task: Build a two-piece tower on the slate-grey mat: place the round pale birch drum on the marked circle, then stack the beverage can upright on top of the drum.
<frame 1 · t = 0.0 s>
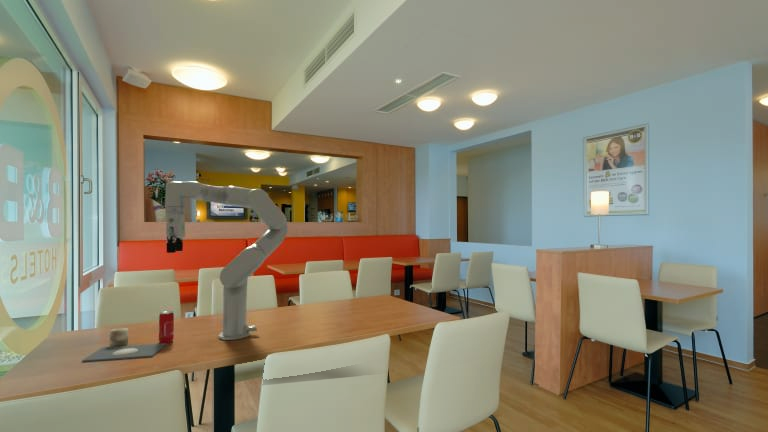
hand: (174, 251, 154), 37 cm above the table, tool pointing down, fingers open, 9 cm apart
mat: (126, 352, 138), on the table
birch drum: (118, 345, 147), on the table
beverage can: (166, 342, 151), on the table
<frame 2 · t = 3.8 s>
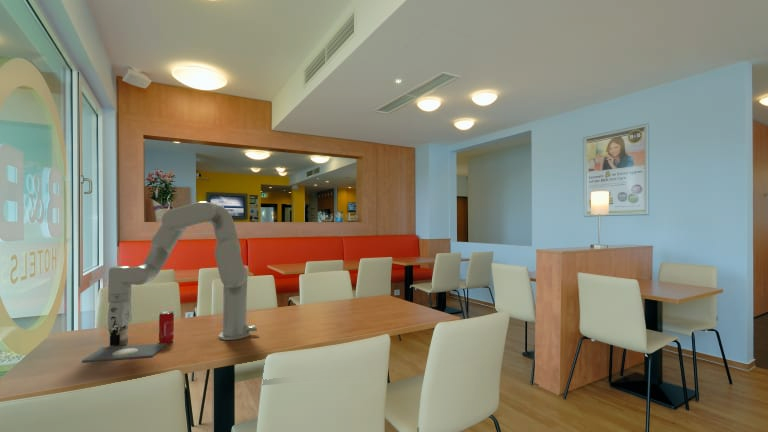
hand: (118, 342, 147), 1 cm above the table, tool pointing down, fingers closed on birch drum, 6 cm apart
birch drum: (118, 344, 147), on the table, touching gripper
everything else where it was.
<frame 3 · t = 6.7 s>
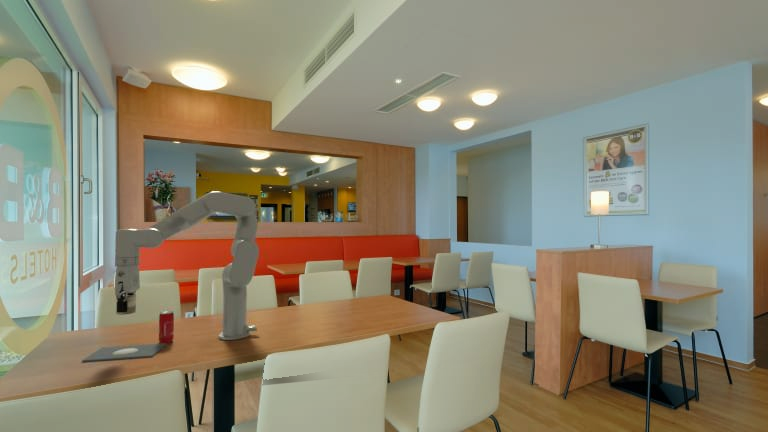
hand: (126, 309, 137), 16 cm above the table, tool pointing down, fingers closed on birch drum, 6 cm apart
birch drum: (125, 312, 137), point 15 cm above the table, touching gripper
everything else where it was.
when the fingers open (2 cm above the table, at t = 9.5 s): birch drum stays where it is, resting on mat.
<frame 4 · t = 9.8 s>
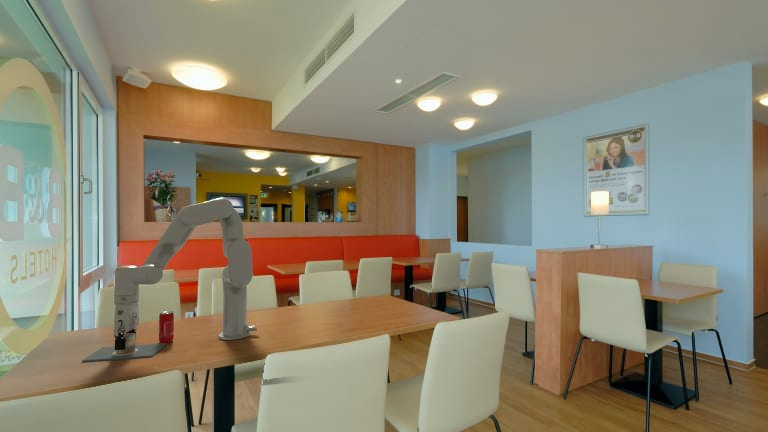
hand: (125, 345, 137), 3 cm above the table, tool pointing down, fingers open, 8 cm apart
birch drum: (125, 351, 137), point 1 cm above the table, touching mat
everything else where it was.
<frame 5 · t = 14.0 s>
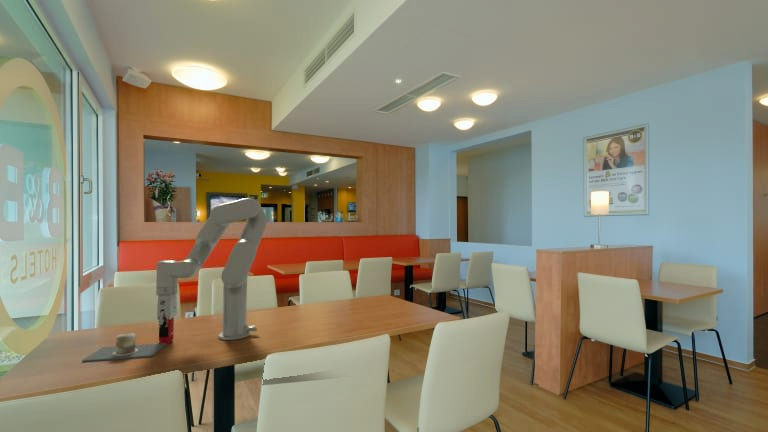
hand: (166, 334, 151), 3 cm above the table, tool pointing down, fingers closed on beverage can, 5 cm apart
beverage can: (166, 342, 151), on the table, touching gripper
everything else where it was.
when the fingers open (10 cm above the table, at t = 19.7 s): beverage can stays where it is, resting on birch drum.
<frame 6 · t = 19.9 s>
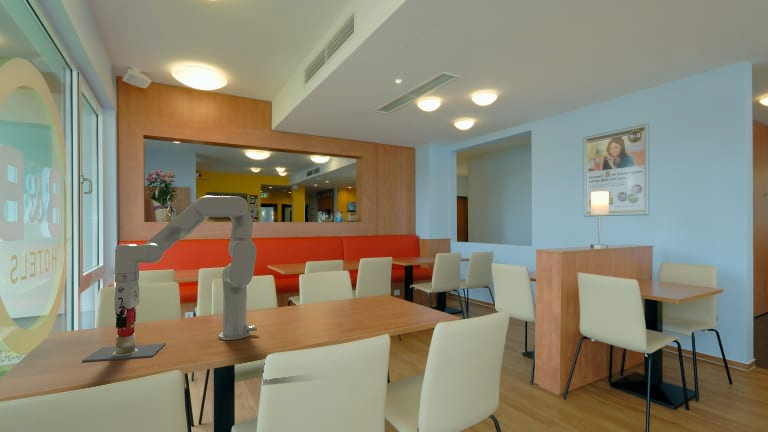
hand: (126, 324, 137), 11 cm above the table, tool pointing down, fingers open, 7 cm apart
birch drum: (125, 351, 137), point 1 cm above the table, touching beverage can, mat
beverage can: (125, 336, 137), point 7 cm above the table, touching birch drum
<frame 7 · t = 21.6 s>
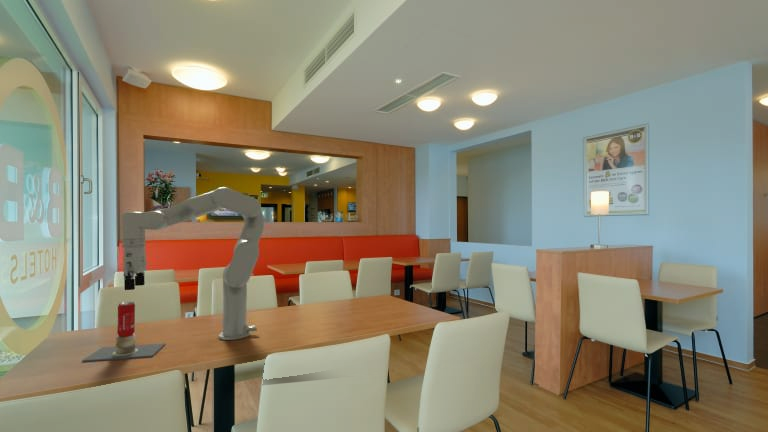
hand: (134, 287, 143), 24 cm above the table, tool pointing down, fingers open, 9 cm apart
nothing on the table moved.
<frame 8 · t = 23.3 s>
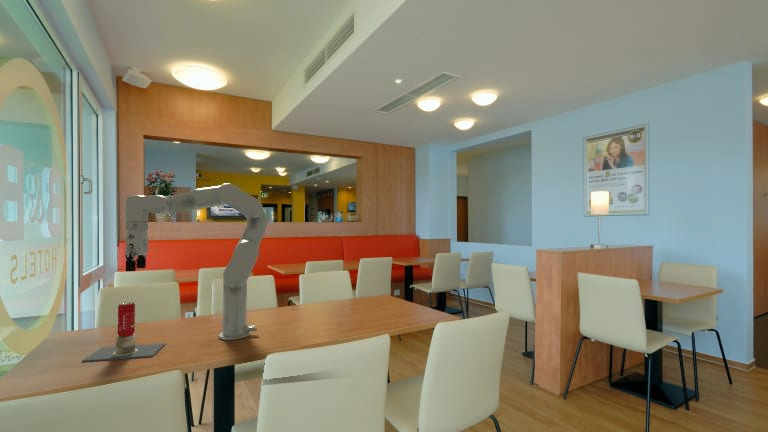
hand: (136, 269, 145), 30 cm above the table, tool pointing down, fingers open, 9 cm apart
nothing on the table moved.
at the end: birch drum inside the target area (0.0 cm from its centre), point 0.7 cm above the table; beverage can 0.1 cm from the birch drum (horizontally); beverage can point 6.5 cm above the table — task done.
